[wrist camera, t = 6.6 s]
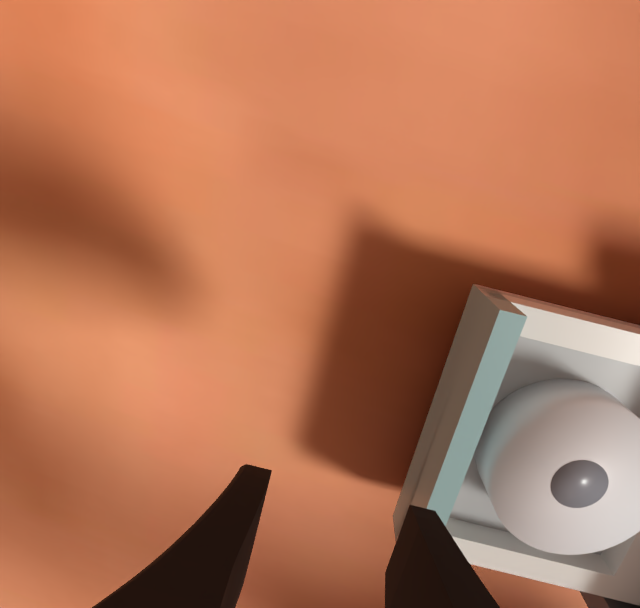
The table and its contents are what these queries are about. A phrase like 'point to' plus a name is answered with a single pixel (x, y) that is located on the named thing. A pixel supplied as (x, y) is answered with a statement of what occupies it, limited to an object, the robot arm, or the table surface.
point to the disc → (563, 466)
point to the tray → (472, 413)
